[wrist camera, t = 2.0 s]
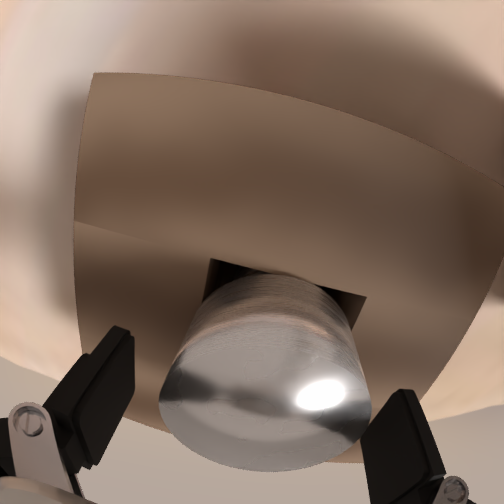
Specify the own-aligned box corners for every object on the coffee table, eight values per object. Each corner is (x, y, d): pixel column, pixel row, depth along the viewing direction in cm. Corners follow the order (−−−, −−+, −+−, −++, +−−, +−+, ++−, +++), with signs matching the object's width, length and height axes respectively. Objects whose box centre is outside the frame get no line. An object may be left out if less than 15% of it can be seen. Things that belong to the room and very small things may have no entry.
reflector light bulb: (231, 212, 16) (164, 317, 7) (344, 241, 16) (412, 369, 7) (211, 309, 18) (157, 447, 9) (309, 333, 18) (321, 478, 9)
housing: (166, 95, 16) (93, 72, 8) (442, 173, 16) (522, 199, 8) (137, 334, 22) (92, 403, 15) (348, 384, 22) (363, 463, 15)
